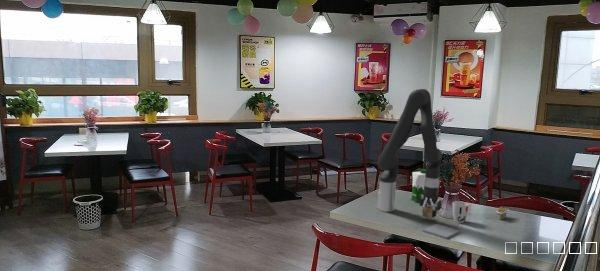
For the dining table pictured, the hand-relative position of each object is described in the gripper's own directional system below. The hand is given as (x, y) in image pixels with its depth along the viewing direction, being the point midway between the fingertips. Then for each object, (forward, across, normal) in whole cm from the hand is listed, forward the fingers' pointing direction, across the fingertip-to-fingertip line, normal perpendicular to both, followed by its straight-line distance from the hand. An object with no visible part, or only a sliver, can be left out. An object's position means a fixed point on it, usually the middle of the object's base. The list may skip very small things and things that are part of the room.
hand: (429, 215), depth 236 cm
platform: (+3, +25, +34) cm, 43 cm away
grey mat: (+3, +13, -11) cm, 17 cm away
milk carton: (+4, -23, +28) cm, 36 cm away
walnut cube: (0, 0, 0) cm, 0 cm away
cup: (+3, +12, +12) cm, 17 cm away
